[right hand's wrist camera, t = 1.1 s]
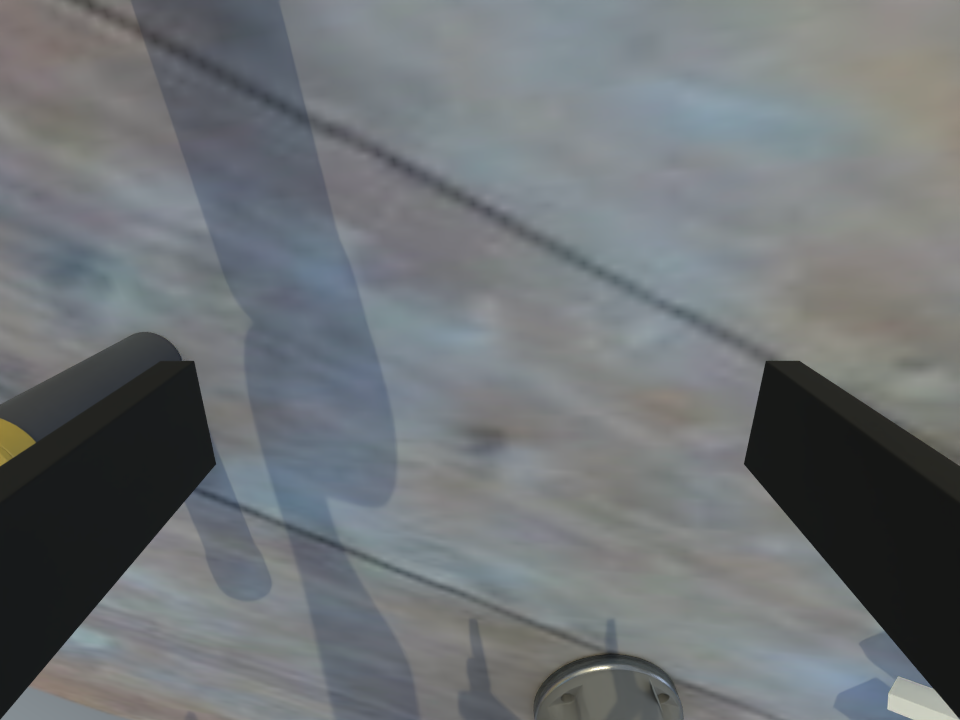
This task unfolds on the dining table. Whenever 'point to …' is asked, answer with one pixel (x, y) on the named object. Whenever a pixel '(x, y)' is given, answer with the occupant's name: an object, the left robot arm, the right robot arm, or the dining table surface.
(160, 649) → the dining table surface
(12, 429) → the lid
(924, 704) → the white plastic object
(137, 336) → the dark grey cylinder
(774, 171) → the dining table surface
